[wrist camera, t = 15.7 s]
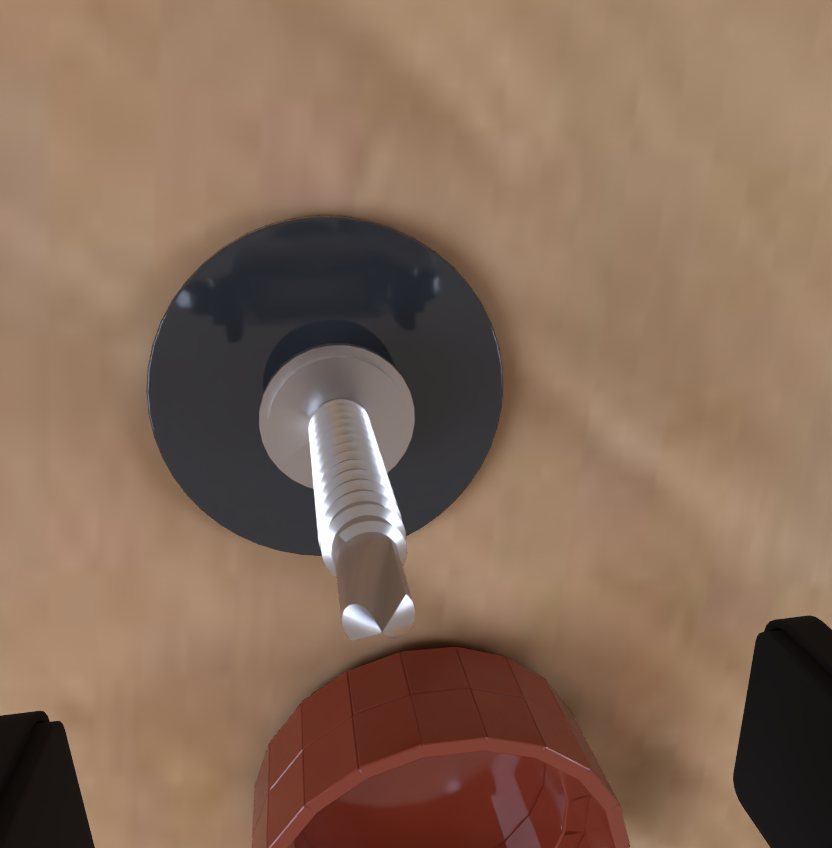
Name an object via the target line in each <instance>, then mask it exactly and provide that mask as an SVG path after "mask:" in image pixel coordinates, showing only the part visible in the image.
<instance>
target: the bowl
mask: <svg viewBox="0 0 832 848" xmlns="http://www.w3.org/2000/svg"><path fill="white" fill-rule="evenodd" d="M629 847H630V844H629V839H628V835H627V831H626V827H625V823H624V819H623V815H622V812H621V808H620V804H619V802H618V800H617V798H616V796H615V794H614V792H613V790H612V789H611V787H610V785H609V783H608V781H607V779H606V777H605V775H604V773H603V771H602V769H601V768H600V766H599V764H598V762H597V760H596V758H595V756H594V754H593V752H592V750H591V748H590V747H589V745H588V743H587V741H586V739H585V737H584V735H583V733H582V731H581V729H580V727H579V726H578V724H577V722H576V720H575V718H574V716H573V714H572V712H571V710H570V709H569V707H568V706H567V705H566V704H565V703H564V701H563V700H562V699H561V698H560V696H559V695H558V694H557V693H556V691H555V690H554V689H553V688H552V686H551V685H550V684H549V683H548V682H547V680H545V679H544V678H543V677H541V676H539V675H537V674H536V673H534V672H532V671H530V670H528V669H527V668H525V667H523V666H521V665H520V664H518V663H516V662H514V661H512V660H511V659H509V658H507V657H505V656H502V655H497V654H492V653H486V652H481V651H476V650H471V649H466V648H461V647H444V648H433V649H422V650H410V651H402V652H401V653H400V652H398V653H395V654H393V655H390V656H387V657H384V658H381V659H379V660H376V661H373V662H370V663H368V664H365V665H362V666H359V667H357V668H354V669H351V670H349V671H348V672H347V671H345V672H344V673H342V674H341V675H340V676H338V677H337V678H335V679H334V680H332V681H331V682H330V683H328V684H327V685H325V686H324V687H322V688H321V689H319V690H318V691H317V692H315V693H314V694H312V695H311V696H309V697H308V698H307V699H305V700H304V701H302V703H301V704H300V705H299V706H298V708H297V709H296V710H295V711H294V713H293V714H292V715H291V716H290V718H289V719H288V720H287V721H286V723H285V724H284V725H283V726H282V728H281V729H280V730H279V731H278V733H277V734H276V735H275V736H274V738H273V739H272V740H271V742H270V743H269V745H268V748H267V751H266V754H265V757H264V760H263V763H262V766H261V768H260V771H259V774H258V777H257V780H256V783H255V791H254V811H253V831H252V848H629Z"/></svg>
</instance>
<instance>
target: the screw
mask: <svg viewBox="0 0 832 848" xmlns="http://www.w3.org/2000/svg"><path fill="white" fill-rule="evenodd" d="M414 424H415V417H414V404H413V401H412V397H411V393H410V391H409V389H408V387H407V385H406V383H405V381H404V379H403V377H402V375H401V374H400V373H399V372H398V371H397V370H396V368H395V367H394V366H393V365H392V364H391V363H390V362H389V361H387V360H386V359H385V358H383V357H382V356H381V355H379V354H378V353H376V352H374V351H371V350H369V349H367V348H365V347H362V346H357V345H353V344H348V343H327V344H323V345H318V346H314V347H311V348H308V349H306V350H304V351H302V352H300V353H298V354H296V355H294V356H293V357H292V358H290V359H289V360H288V361H286V362H285V363H284V364H282V365H281V367H280V368H279V369H278V370H277V371H276V373H275V374H274V375H273V376H272V377H271V379H270V381H269V383H268V385H267V387H266V389H265V391H264V393H263V397H262V401H261V405H260V410H259V429H260V433H261V438H262V442H263V445H264V447H265V449H266V451H267V453H268V455H269V457H270V458H271V460H272V461H273V462H274V463H275V465H276V466H277V467H278V468H279V469H280V470H281V471H282V472H283V473H284V474H286V475H287V476H288V477H289V478H291V479H292V480H294V481H296V482H298V483H300V484H302V485H304V486H306V487H309V488H313V489H314V495H315V506H316V517H317V529H318V541H319V546H320V548H321V552H322V557H323V561H324V563H325V565H326V567H327V569H328V570H329V572H330V573H331V574H332V575H333V576H334V577H336V578H337V585H338V593H339V601H340V609H341V618H342V624H343V629H344V631H345V633H346V635H347V636H348V638H349V639H350V640H351V641H355V640H358V639H362V638H365V637H369V636H372V635H376V634H379V633H383V634H385V635H387V636H388V637H391V638H396V637H400V636H402V635H404V634H406V633H407V632H408V631H409V630H410V629H411V628H412V626H413V624H414V620H415V608H414V604H413V601H412V597H411V594H410V590H409V587H408V584H407V580H406V577H405V573H404V570H403V565H404V563H405V560H406V556H407V546H406V542H405V541H406V532H405V528H404V525H403V523H402V517H401V514H400V511H399V509H398V505H397V502H396V499H395V497H394V493H393V490H392V488H391V484H390V480H389V478H388V475H387V473H388V472H389V471H390V470H391V469H392V468H393V467H394V466H396V464H397V463H398V462H399V460H400V459H401V458H402V456H403V455H404V453H405V452H406V450H407V447H408V445H409V443H410V441H411V438H412V433H413V429H414Z"/></svg>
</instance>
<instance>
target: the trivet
mask: <svg viewBox="0 0 832 848" xmlns="http://www.w3.org/2000/svg"><path fill="white" fill-rule="evenodd" d="M327 343H348V344H353V345H357V346H362V347H365V348H367V349H369V350H371V351H374V352H376V353H378V354H379V355H381V356H382V357H383V358H385V359H386V360H387V361H389V362H390V363H391V364H392V365H393V366H394V367H395V368H396V370H397V371H398V372H399V373H400V374H401V375H402V377H403V379H404V381H405V383H406V385H407V387H408V389H409V391H410V393H411V397H412V401H413V404H414V417H415V424H414V429H413V433H412V438H411V441H410V443H409V445H408V447H407V450H406V452H405V453H404V455H403V456H402V458H401V459H400V460H399V462H398V463H397V464H396V466H394V467H393V468H392V469H391V470H390V471H389V472H388V473H387V475H388V478H389V480H390V484H391V488H392V490H393V493H394V497H395V499H396V502H397V505H398V509H399V511H400V514H401V517H402V523H403V525H404V528H405V532H406V536H407V535H409V534H411V533H413V532H415V531H416V530H418V529H420V528H422V527H423V526H425V525H426V524H428V523H429V522H430V521H432V520H433V519H434V518H436V517H437V516H439V515H440V514H441V513H442V512H443V511H444V510H445V509H447V508H448V507H449V506H450V505H451V504H452V503H453V502H454V501H455V500H456V499H457V498H458V497H459V496H460V494H461V493H462V492H463V491H464V490H465V489H466V487H467V486H468V485H469V484H470V482H471V481H472V479H473V478H474V476H475V475H476V473H477V472H478V470H479V469H480V467H481V465H482V463H483V461H484V459H485V457H486V455H487V453H488V451H489V449H490V447H491V444H492V441H493V438H494V436H495V433H496V430H497V426H498V421H499V417H500V412H501V407H502V395H503V374H502V362H501V357H500V352H499V346H498V342H497V339H496V336H495V333H494V330H493V327H492V324H491V322H490V320H489V318H488V316H487V314H486V312H485V310H484V308H483V305H482V303H481V302H480V300H479V299H478V297H477V296H476V294H475V293H474V291H473V290H472V289H471V287H470V286H469V284H468V283H467V282H466V281H465V280H464V279H463V277H462V276H461V275H460V274H459V273H458V272H457V271H456V270H455V268H454V267H453V266H451V265H450V264H449V263H448V262H447V261H446V260H444V259H443V258H442V257H441V256H440V255H438V254H437V253H436V252H435V251H433V250H432V249H430V248H429V247H427V246H425V245H424V244H422V243H421V242H419V241H418V240H416V239H414V238H413V237H411V236H408V235H406V234H404V233H402V232H400V231H398V230H395V229H393V228H391V227H388V226H385V225H382V224H379V223H375V222H372V221H369V220H364V219H358V218H352V217H346V216H321V215H318V216H309V217H299V218H292V219H288V220H284V221H280V222H276V223H272V224H269V225H266V226H264V227H261V228H259V229H256V230H254V231H251V232H249V233H246V234H245V235H243V236H241V237H239V238H238V239H236V240H234V241H232V242H231V243H229V244H227V245H225V246H224V247H223V248H222V249H220V250H219V251H218V252H216V253H215V254H214V255H212V256H211V257H210V258H209V259H207V260H206V261H205V262H204V263H203V264H202V265H201V266H200V267H199V268H198V269H197V270H196V271H195V272H194V273H193V274H192V275H191V276H190V277H189V279H188V280H187V281H186V282H185V284H184V285H183V286H182V288H181V289H180V290H179V292H178V293H177V295H176V296H175V297H174V299H173V300H172V302H171V304H170V305H169V307H168V309H167V311H166V313H165V315H164V317H163V319H162V321H161V322H160V325H159V328H158V331H157V334H156V337H155V339H154V342H153V345H152V350H151V355H150V360H149V365H148V376H147V400H148V411H149V417H150V421H151V426H152V430H153V434H154V438H155V440H156V443H157V445H158V448H159V450H160V453H161V455H162V458H163V460H164V461H165V463H166V465H167V467H168V468H169V470H170V472H171V474H172V476H173V477H174V479H175V480H176V481H177V483H178V484H179V485H180V486H181V488H182V489H183V490H184V492H185V493H186V494H187V496H188V497H189V498H190V499H191V500H192V501H193V502H194V503H195V504H196V505H197V506H198V507H199V508H200V509H201V510H202V511H203V512H205V513H206V514H207V515H209V516H210V517H211V518H212V519H214V520H215V521H216V522H218V523H219V524H220V525H222V526H224V527H225V528H227V529H229V530H230V531H232V532H234V533H235V534H237V535H239V536H241V537H243V538H245V539H248V540H250V541H252V542H254V543H257V544H259V545H262V546H266V547H269V548H272V549H276V550H279V551H284V552H289V553H295V554H301V555H317V556H322V552H321V548H320V546H319V541H318V529H317V517H316V506H315V495H314V489H313V488H309V487H306V486H304V485H302V484H300V483H298V482H296V481H294V480H292V479H291V478H289V477H288V476H287V475H286V474H284V473H283V472H282V471H281V470H280V469H279V468H278V467H277V466H276V465H275V463H274V462H273V461H272V460H271V458H270V457H269V455H268V453H267V451H266V449H265V447H264V445H263V442H262V438H261V433H260V429H259V410H260V405H261V401H262V397H263V393H264V391H265V389H266V387H267V385H268V383H269V381H270V379H271V377H272V376H273V375H274V374H275V373H276V371H277V370H278V369H279V368H280V367H281V365H282V364H284V363H285V362H286V361H288V360H289V359H290V358H292V357H293V356H294V355H296V354H298V353H300V352H302V351H304V350H306V349H308V348H311V347H314V346H318V345H323V344H327Z"/></svg>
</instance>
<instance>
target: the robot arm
mask: <svg viewBox="0 0 832 848" xmlns="http://www.w3.org/2000/svg"><path fill="white" fill-rule="evenodd" d="M733 782H734V788H735V791H736V794H737V797H738V799H739V801H740V803H741V805H742V806H743V808H744V809H745V811H746V812H747V814H748V815H749V817H750V818H751V820H752V821H753V822H754V824H755V825H756V827H757V828H758V830H759V831H760V833H761V834H762V836H763V837H764V838H765V840H766V841H767V843H768V844H769V846H770V847H771V848H832V630H831V629H830V628H829V627H828V626H827V625H826V624H825V623H823V622H822V621H821V620H819V619H818V618H816V617H814V616H801V617H793V618H785V619H777V620H773V621H770V622H769V623H768V624H767V625H766V628H765V631H764V632H762V633H760V634H759V635H758V636H757V639H756V643H755V649H754V655H753V661H752V667H751V673H750V678H749V684H748V690H747V696H746V702H745V708H744V714H743V720H742V726H741V732H740V738H739V744H738V750H737V756H736V762H735V768H734V774H733ZM0 848H95V847H94V843H93V839H92V835H91V831H90V827H89V823H88V819H87V815H86V812H85V808H84V804H83V800H82V796H81V792H80V788H79V784H78V780H77V776H76V772H75V768H74V764H73V760H72V756H71V752H70V748H69V744H68V740H67V736H66V732H65V729H64V726H63V724H62V723H61V722H60V721H54V722H50V721H49V718H48V716H47V715H46V713H45V712H44V711H35V712H27V713H19V714H11V715H3V716H0Z"/></svg>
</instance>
